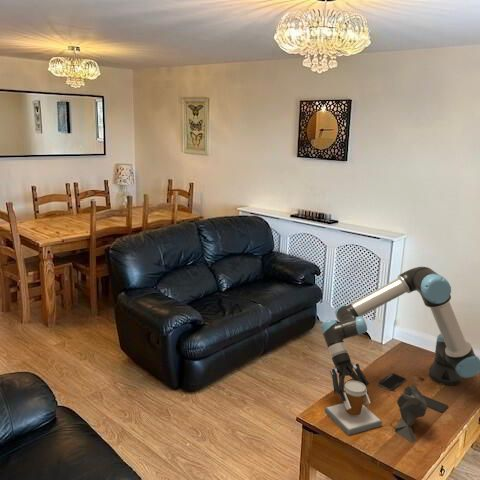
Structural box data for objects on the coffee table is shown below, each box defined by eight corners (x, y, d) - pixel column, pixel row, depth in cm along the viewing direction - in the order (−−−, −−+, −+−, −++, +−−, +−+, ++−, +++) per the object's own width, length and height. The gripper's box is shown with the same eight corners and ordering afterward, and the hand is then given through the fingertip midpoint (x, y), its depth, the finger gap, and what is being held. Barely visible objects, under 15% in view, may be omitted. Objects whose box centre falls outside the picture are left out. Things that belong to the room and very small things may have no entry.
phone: (416, 392, 223) (448, 405, 212) (416, 394, 223) (448, 407, 213) (409, 398, 217) (442, 412, 207) (409, 400, 218) (442, 414, 207)
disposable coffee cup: (365, 419, 196) (367, 393, 193) (342, 416, 198) (344, 391, 195) (363, 406, 205) (366, 381, 202) (341, 403, 207) (343, 378, 204)
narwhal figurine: (434, 429, 197) (439, 390, 192) (412, 442, 188) (417, 402, 183) (404, 412, 208) (409, 375, 203) (382, 424, 199) (387, 386, 195)
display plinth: (356, 403, 213) (357, 398, 212) (381, 425, 198) (382, 420, 197) (324, 412, 206) (325, 407, 206) (348, 435, 191) (348, 430, 191)
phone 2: (377, 383, 229) (392, 372, 239) (376, 385, 229) (392, 374, 239) (391, 390, 223) (407, 378, 233) (391, 392, 224) (407, 380, 234)
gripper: (355, 353, 215) (375, 402, 205) (314, 361, 206) (332, 414, 196) (364, 347, 209) (384, 398, 199) (322, 356, 200) (341, 410, 190)
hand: (358, 406), depth 197 cm, fingers closed on disposable coffee cup, 9 cm apart
